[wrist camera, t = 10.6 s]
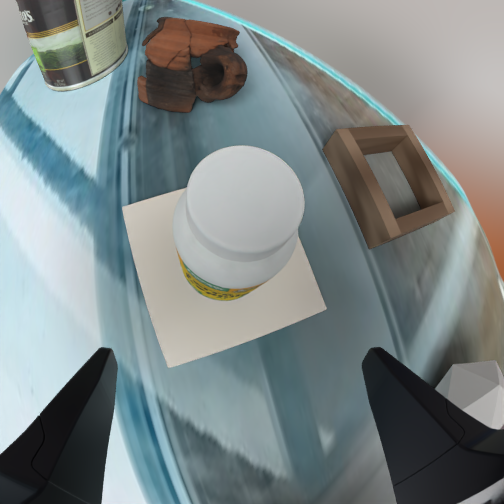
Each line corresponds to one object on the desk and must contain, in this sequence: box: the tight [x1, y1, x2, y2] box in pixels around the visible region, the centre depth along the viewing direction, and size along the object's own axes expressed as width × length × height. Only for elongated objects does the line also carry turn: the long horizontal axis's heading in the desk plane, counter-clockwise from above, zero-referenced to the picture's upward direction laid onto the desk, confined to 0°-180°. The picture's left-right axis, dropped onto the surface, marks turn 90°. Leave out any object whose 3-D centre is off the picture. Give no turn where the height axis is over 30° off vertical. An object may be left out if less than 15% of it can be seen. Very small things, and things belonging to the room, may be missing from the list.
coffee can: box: [16, 0, 128, 91], centre depth 15 cm, size 10×10×14 cm
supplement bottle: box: [172, 145, 305, 301], centre depth 14 cm, size 5×5×10 cm
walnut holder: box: [322, 125, 455, 249], centre depth 22 cm, size 9×9×3 cm
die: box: [435, 360, 504, 429], centre depth 16 cm, size 8×9×10 cm
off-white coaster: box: [122, 188, 327, 368], centre depth 19 cm, size 11×11×1 cm
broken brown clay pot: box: [137, 17, 247, 112], centre depth 21 cm, size 12×10×8 cm
